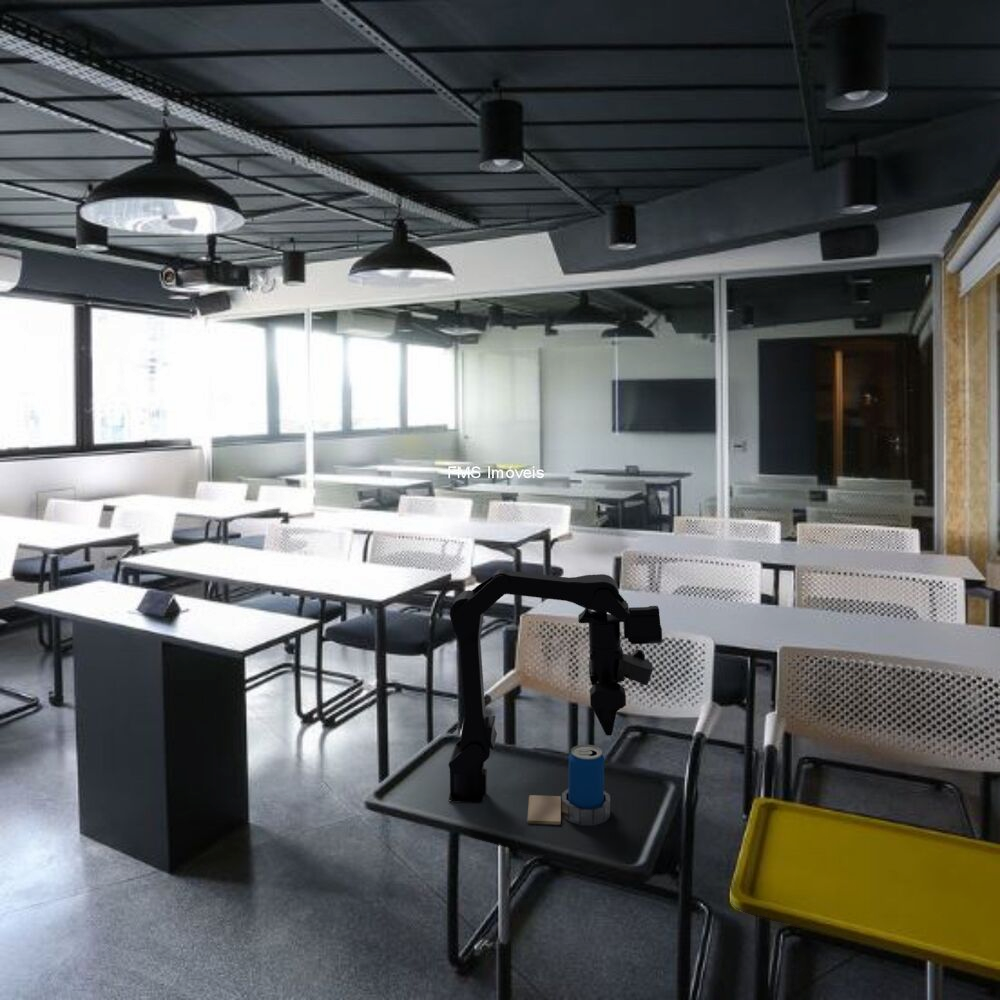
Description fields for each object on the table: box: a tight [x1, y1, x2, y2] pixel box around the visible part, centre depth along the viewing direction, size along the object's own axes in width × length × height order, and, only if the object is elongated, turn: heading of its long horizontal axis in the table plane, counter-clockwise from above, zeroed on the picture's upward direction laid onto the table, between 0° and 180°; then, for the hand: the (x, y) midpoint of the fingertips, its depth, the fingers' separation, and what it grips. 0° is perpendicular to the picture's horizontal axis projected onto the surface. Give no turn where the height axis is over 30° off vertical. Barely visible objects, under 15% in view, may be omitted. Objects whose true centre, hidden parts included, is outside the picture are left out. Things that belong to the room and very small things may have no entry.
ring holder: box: [561, 788, 611, 827], centre depth 152 cm, size 9×9×3 cm
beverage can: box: [567, 744, 605, 808], centre depth 151 cm, size 6×6×12 cm
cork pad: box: [526, 794, 562, 826], centre depth 153 cm, size 6×9×1 cm, turn 176°
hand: (608, 724), depth 154 cm, fingers open, 9 cm apart
